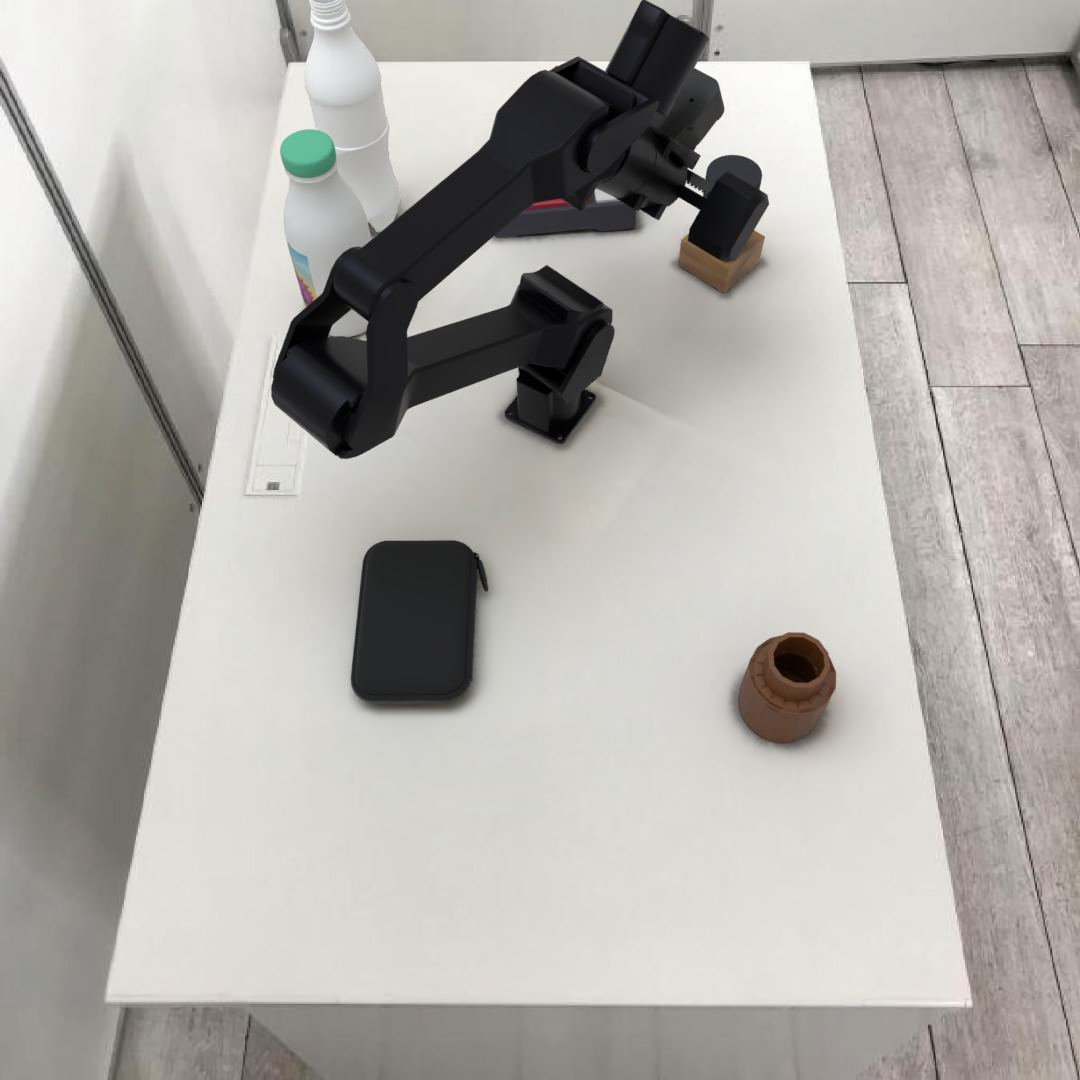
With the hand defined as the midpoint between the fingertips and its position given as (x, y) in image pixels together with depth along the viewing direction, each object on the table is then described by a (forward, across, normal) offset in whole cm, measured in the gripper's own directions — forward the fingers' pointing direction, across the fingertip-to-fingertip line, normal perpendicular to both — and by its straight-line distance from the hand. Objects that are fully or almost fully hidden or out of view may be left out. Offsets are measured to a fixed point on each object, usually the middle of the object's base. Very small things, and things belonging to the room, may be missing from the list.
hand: (695, 197), depth 97 cm
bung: (+10, 0, +2) cm, 11 cm away
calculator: (+10, +19, +7) cm, 23 cm away
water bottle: (-1, +32, +18) cm, 37 cm away
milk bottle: (-8, +24, +26) cm, 36 cm away
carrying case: (-22, -8, +40) cm, 46 cm away
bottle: (-12, -33, +30) cm, 46 cm away
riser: (+13, 0, +5) cm, 14 cm away
